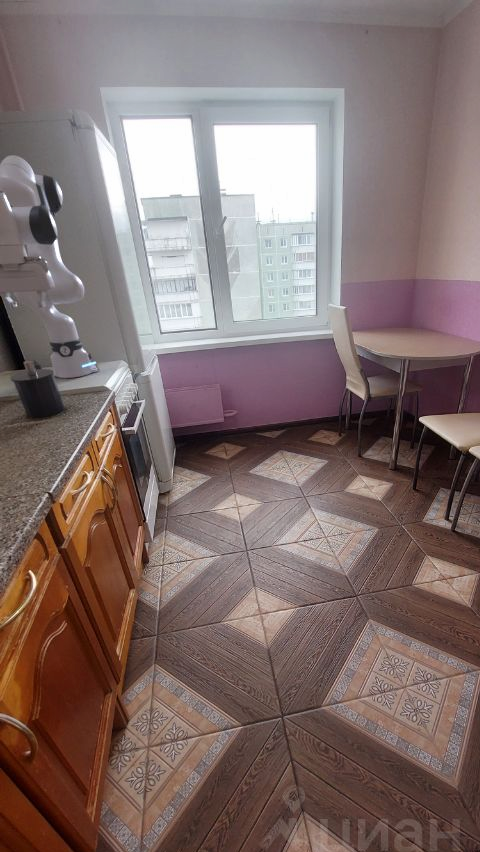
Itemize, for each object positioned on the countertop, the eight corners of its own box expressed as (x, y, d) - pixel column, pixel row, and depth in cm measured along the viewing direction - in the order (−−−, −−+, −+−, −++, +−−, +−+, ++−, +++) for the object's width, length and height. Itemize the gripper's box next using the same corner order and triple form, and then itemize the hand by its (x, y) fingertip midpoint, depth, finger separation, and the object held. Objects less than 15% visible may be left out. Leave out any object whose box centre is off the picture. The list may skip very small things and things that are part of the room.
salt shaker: (46, 393, 145) (35, 362, 139) (33, 393, 146) (21, 361, 140) (57, 388, 150) (46, 357, 144) (44, 388, 151) (33, 357, 145)
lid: (17, 375, 124) (11, 359, 122) (57, 371, 127) (52, 355, 124) (6, 386, 114) (-1, 368, 112) (50, 381, 117) (45, 364, 114)
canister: (32, 410, 130) (18, 373, 124) (67, 405, 133) (55, 369, 126) (24, 422, 121) (8, 383, 115) (61, 417, 124) (48, 379, 117)
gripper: (50, 255, 115) (64, 305, 122) (-14, 258, 116) (4, 307, 124) (38, 256, 110) (54, 308, 117) (-29, 258, 111) (-9, 310, 118)
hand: (28, 307), depth 120 cm, fingers open, 8 cm apart
